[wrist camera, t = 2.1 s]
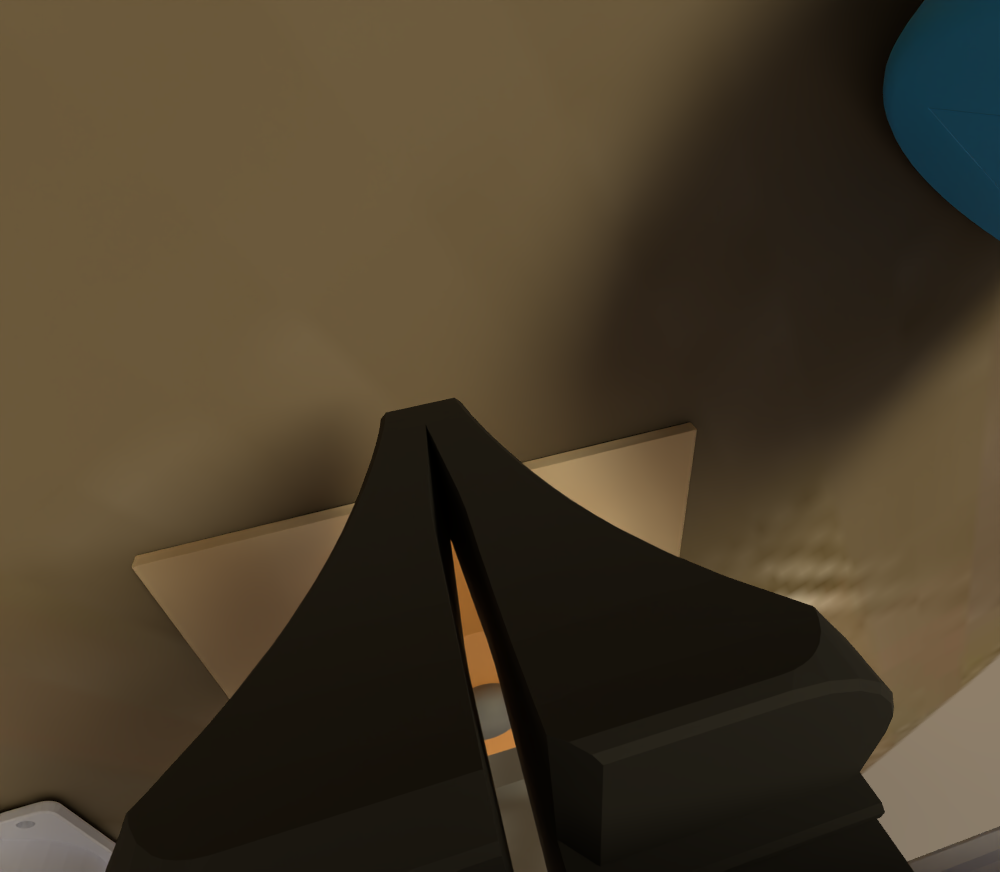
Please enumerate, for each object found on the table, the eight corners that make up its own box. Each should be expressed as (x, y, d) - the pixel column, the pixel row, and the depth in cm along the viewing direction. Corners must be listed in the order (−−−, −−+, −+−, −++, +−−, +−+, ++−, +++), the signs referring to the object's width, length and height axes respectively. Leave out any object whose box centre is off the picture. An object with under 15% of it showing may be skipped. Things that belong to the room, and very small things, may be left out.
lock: (383, 663, 19) (396, 807, 16) (336, 544, 16) (339, 696, 12) (548, 616, 20) (598, 743, 16) (539, 494, 17) (599, 621, 13)
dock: (333, 829, 26) (335, 984, 22) (135, 556, 15) (57, 765, 10) (650, 726, 28) (708, 848, 24) (690, 422, 17) (812, 549, 13)
